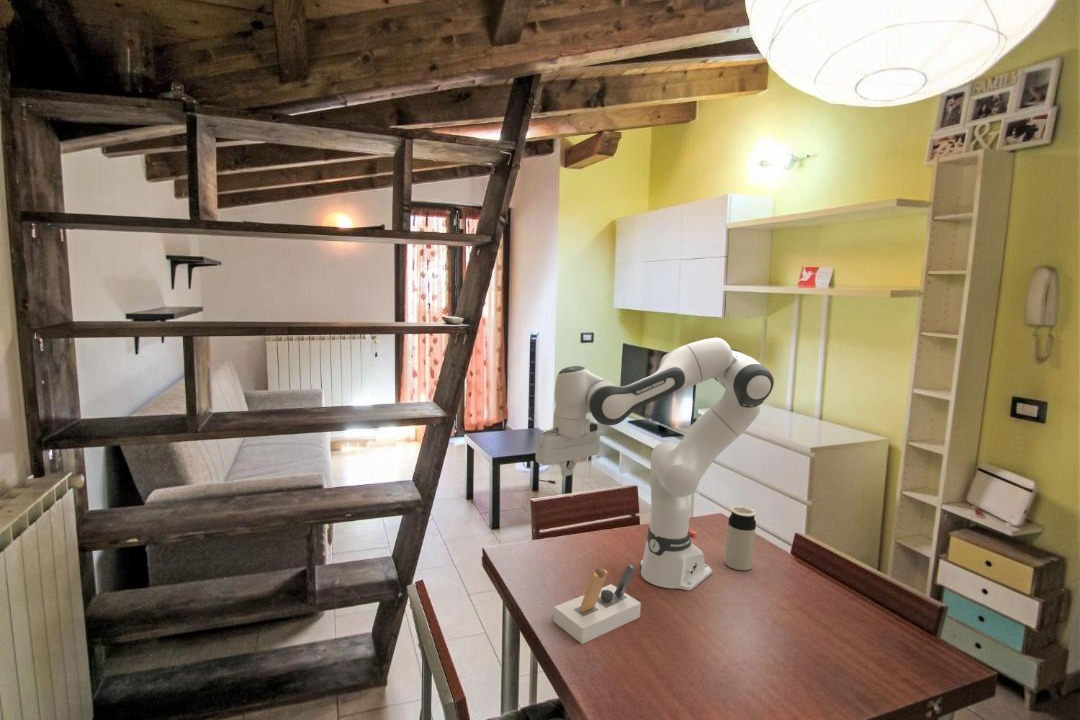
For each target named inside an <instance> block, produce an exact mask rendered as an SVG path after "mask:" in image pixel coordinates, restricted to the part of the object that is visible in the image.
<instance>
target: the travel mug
mask: <svg viewBox="0 0 1080 720" xmlns="http://www.w3.org/2000/svg"><path fill="white" fill-rule="evenodd" d="M730 512H731V514H730V516H729V517H728V522H727V524H728V525H727V535H726V545H725V546H726V547H725V559H724V563H725V565H726V566H728V567H729V568H731V569H733V570H736V571H741V572H742V571H749V570H751V569H752V567H753V557H754V550H755V549H754V547H755V540H756V539H755V538H756V537H755V536H756V528H757V522H756V518H755V516H756V514H757V512H756V510H755V509H753V508H751V507H749V506H744V505H734V506H731V507H730Z"/></svg>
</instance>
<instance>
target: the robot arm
mask: <svg viewBox="0 0 1080 720" xmlns="http://www.w3.org/2000/svg"><path fill="white" fill-rule="evenodd" d="M658 366H659V367H658V369H657V370H656V371H655V372H654V373H652V374H651V375H649V376H646V377H644V378H641V379H639V380H637V381H634V382H633V383H630V384H627V385H623V386H622V385H617V384H616V383H614V382H613V381H611V380H609V379H607V378H604V377H601V376H598V375H596V374H595V373H592V372H591V371H589V370H588V369H587V368H586V367H584V366H580V365H578V366H577V365H576V366H574V365H573V366H567V367H565V368H562V369H560V371H559V372H558V373H557V375H556V379H555V385H554V404H555V408H554V411H553V420H552V421H553V422H552V426H553V427H552V428H549V429H544V430H542V431H541V433H539V434H538V437H537V444H536V449H535V461H536V463H538V464H540V465H541V466H550V465H554V464H558V465H559V466H558V467H559V468H560V469H561V470H560V474H561V476H562V477H568V476H573V475H574V470H575V467H576V466H577V463H578V459H583V458H587V457H593V456H597V455H598V453H599V452H600V447H601V446H600V445H601V444H600V443H601V435H600V433H599V431H600V429H601V425H605V426H615V425H618V424H620V423H622V422H623V421H624V420H626V419H627V418H628V417H629V416H630V415H631V414H632V413H633V412H635V411H636V410H638V409H640V408H643V407H644V406H646V405H648V404H651V403H653V402H656V401H657V400H660V399H662V398H664V397H666V396H668V395H670V394H673V393H675V392H678V391H680V390H683V389H687V388H689V387H692V386H695V385H699V384H701V383H704V382H705V381H707V380H710V379H714V380H715V381H716V382H718V383H719V384H720V385H721V386H722V387H723V388H724V389H725V390H724V392H723V395H722V397H721V398H720V399H719V400H718V401H717V402H715V403H714V404H713V405H712V406H711V407H710V408H709V409H707V411H705V412H704V413H703V414H702V415H701V416H700V417H698V419H696V420H695V421H694V422H693V423H692V424H691V425H690V426H689V427H688V428H687V429H688V430H687V432H686V434H685V435H684V437H683V438H682V440H681V441H680V442H679V443H678V444H677V443H674V442H669V441H663V442H660V443H658V444H656V445H655V447H653V449H652V450H651V454H650V503H651V504H650V518H649V520H650V521H649V526H648V529H647V533H646V534H647V536H646V537H647V538H646V539H647V540H646V541H645V545H644V546H645V547H644V553H643V557H642V559H641V560H640V567H641V569H640V575H641V577H642V578H643V579H644V580H645V581H646V582H648V583H650V584H652V585H654V586H656V587H660V588H664V589H665V588H666V589H677V590H678V589H680V590H685V591H691V590H693V589H694V588H696V587H697V586H698V585H699V584H701V583H702V582H703V581H704V580H706V579H707V578H708V577H709V576H710V575H712V574H713V569H712V568H711V567H710V566H709V565H708V564H706V563H705V555H704V552H703V551H702V550H701V549H700V548H699V547H697V546H696V545H695V544H694V543H693V542H692V541H691V540H692V539H693V540H695V539H697V537H698V533H697V531H693V530H692V529H691V530H689V526H690V525H689V522H690V512H691V511H690V510H691V509H690V508H691V507H690V506H691V505H690V501H689V500H690V498H689V496H690V495H692V494H693V493H695V491H696V490H697V489H698V487H699V484H700V481H701V479H702V477H703V476H704V475H705V473H706V472H707V470H708V469H709V467H710V466H711V465H712V464H713V462H714V461H715V460H716V459H717V457H718V456H719V455H721V453H722V452H724V451H725V450H726V449H727V448H728V447H729V446H730V445H731V444H732V443H733V442H734V441H736V439H738V438H739V437H740V436H741V435H742V434H743V433H744V432H745V431H746V430H747V429H748V428H749V427H750V426H751V424H752V423H753V422H754V420H755V419H757V417H758V415H759V413H760V410H761V409H760V405H761V404H763V403H764V402H765V400H766V399H767V398H768V397H769V396H770V395H771V394H772V393H771V392H772V391H773V388H774V385H775V384H774V383H775V380H774V377H773V375H772V372H770V370H769V369H768V368H767V367H766V366H764V365H762V364H761V363H760V362H759V361H757V360H756V359H755V358H753V357H752V356H750V355H749V356H748V355H747V354H744V353H742V352H741V351H740V350H737V349H734V348H731V346H730V344H728V342H727V341H726V340H724V339H722V338H720V337H712V338H711V337H710V338H705V339H701V340H697V341H694V342H690V343H687V344H684V345H682V346H679V347H676V348H675V349H672V350H671V351H669V352H667V353H666V354H664V355H663V357H662V358H661V359H660V363H659V365H658ZM588 413H589V414H590V413H591V415H592V417H593V418H594V420H595V421H597V422H595V421H593V420H590V419H588V418H587V415H588ZM568 461H569V463H568ZM567 464H568V465H567ZM566 465H567V466H566ZM691 538H692V539H691Z"/></svg>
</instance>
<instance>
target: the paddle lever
mask: <svg viewBox="0 0 1080 720" xmlns="http://www.w3.org/2000/svg"><path fill="white" fill-rule="evenodd" d="M608 573H609V572H608V571H607V569H606V568H601V567H597V569H596V570H595V572H592V574H591V576H590V580H589V583H588V585H587V588H586V591H585V593H584V595H585V596H584V598H583V601H582V604H581V606H580V610H581V611H582V612H585V611H587V610H589V609H592V608H594V607H595V604H596V602H597V599H598V597H599V594H600V592H601V589H602V588H603V587H604V584H605V581H606V578H607V576H608Z"/></svg>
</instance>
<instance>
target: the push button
mask: <svg viewBox="0 0 1080 720" xmlns="http://www.w3.org/2000/svg"><path fill="white" fill-rule="evenodd" d="M601 599H602V600H604V601H611V600H612V599H613V593H612V592H611V591H609V590H603V591H602V592H601Z"/></svg>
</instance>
